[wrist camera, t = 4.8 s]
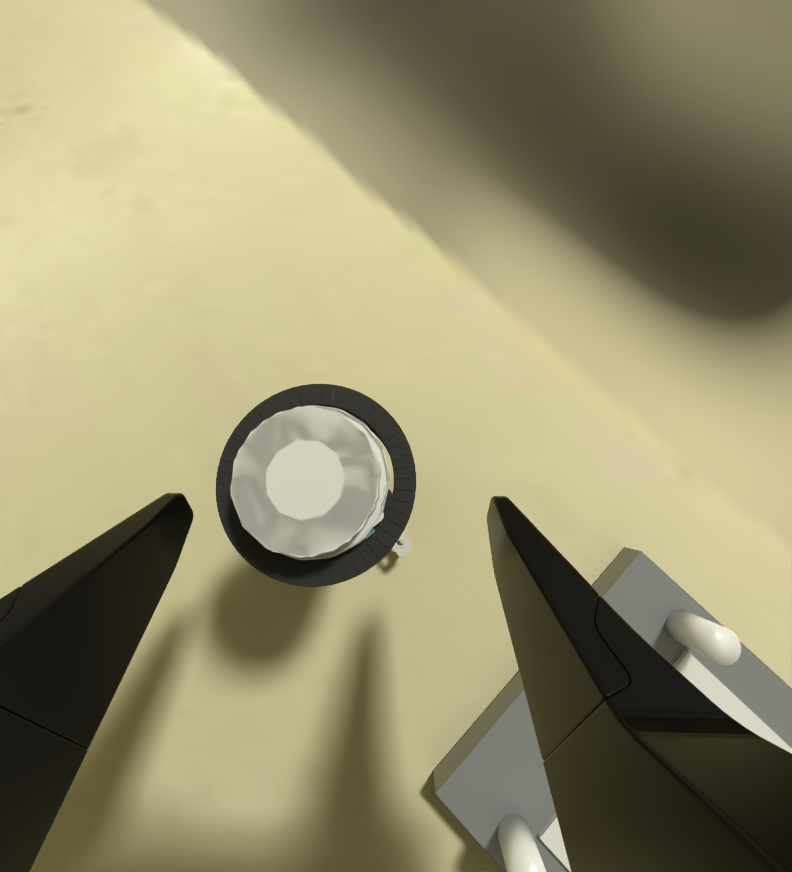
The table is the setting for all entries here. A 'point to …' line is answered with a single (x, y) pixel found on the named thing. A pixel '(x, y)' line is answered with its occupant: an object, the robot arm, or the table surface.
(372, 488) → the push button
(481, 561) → the table surface
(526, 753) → the mounting base
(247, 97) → the table surface
